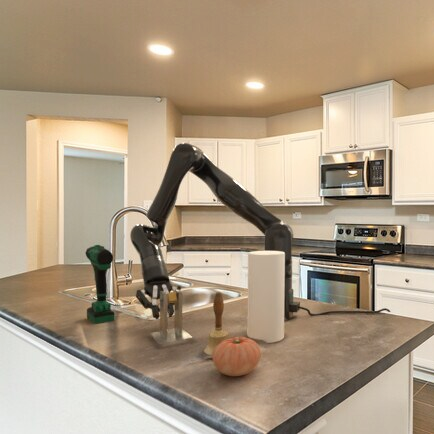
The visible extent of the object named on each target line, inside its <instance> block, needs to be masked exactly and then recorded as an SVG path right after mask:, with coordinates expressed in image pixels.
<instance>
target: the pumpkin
mask: <svg viewBox="0 0 434 434" xmlns="http://www.w3.org/2000/svg"><path fill="white" fill-rule="evenodd" d="M212 357H213V360H212V363H213V366H214V367H215V369H216V371H218V372H219V373H221V374H222V375H225V376H229V377H240V376H244V375H247V374H249V373H251V372H252V371H253V370H255V369H256V368H257V366H258V365H259V363H260V361H261V358H262V352H261V348H260V346H259V344H258V343H257V342H256V341H255V340H254V339H253V338H250V337H245V336H233V337H230V338H229V337H228V339H227V340H224V341H222V342H221V343H219V344H218V345H217V347H216V348H215V350H214V352H213V355H212Z"/></svg>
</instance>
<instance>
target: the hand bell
mask: <svg viewBox="0 0 434 434" xmlns="http://www.w3.org/2000/svg"><path fill="white" fill-rule="evenodd" d="M222 295H223V294H222V292H220V291H219V292H216V293H215V295H214V299H213V306H212V307H213V314H214V317H215V322H214V323H215V325H214V330H213V331H212V332H210V333H209V336H208V337H209V338H208V343H207V346H206V348H205V349H204V351H203V352H204V353H205V354H207V355H209V356H211V355H212V357H208V358H207V360H209V361H213V352H214V350H215V348H216V347H217V345H218V344H219V343H221V342H222V341H224V340H227V339H229V336H228V332H227V331H225V330H223V322H222V320H223V313H224V308H225V304H224V303H225V302H224V299H223V296H222Z"/></svg>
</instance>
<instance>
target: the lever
mask: <svg viewBox="0 0 434 434" xmlns="http://www.w3.org/2000/svg"><path fill="white" fill-rule="evenodd" d="M176 300H177V297H176V292H173V291H171V292H170V293H168V304H169V303H174V302H175V301H176ZM156 305H157V306H158V311H159V313H160V302H159V303H158V304H156Z"/></svg>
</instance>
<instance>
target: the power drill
mask: <svg viewBox="0 0 434 434" xmlns="http://www.w3.org/2000/svg"><path fill="white" fill-rule="evenodd" d="M85 256H86V258H87V259H88V260H89V261H90V265H91V267H93V268H92V270H93V273H94V282H95V292H96V301H92V302H91V307H88V308H86V318H87V320H90V321H91V322H92V323H93V324H94V325H96V324H103V323H109V322H115V312H114V311H113V310H112V309H111V303H110V302H108V301H107V296H108V292H107V290H108V285H107V272H108V270H110V269H111V267H112V263H113V261H114V254H113V253H112V252H111V251H110V250H109V249H107V248H105V246H103V245H100V244H94V245H93V246H90V247H88V248H86V250H85Z"/></svg>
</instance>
